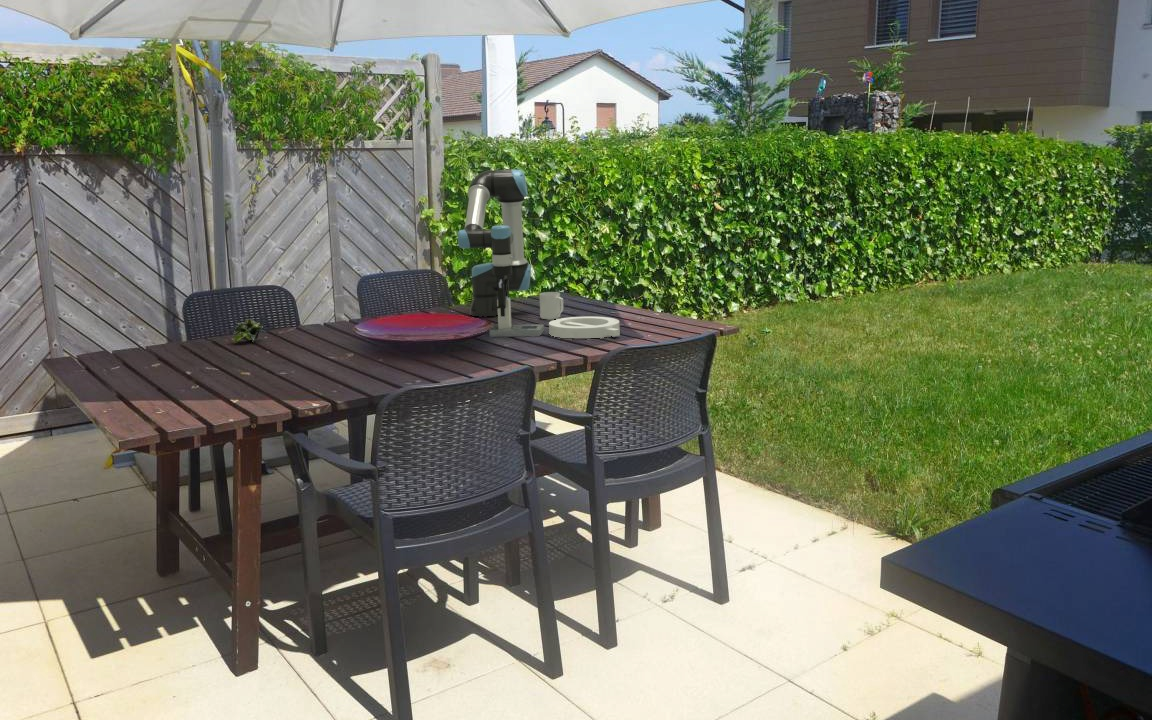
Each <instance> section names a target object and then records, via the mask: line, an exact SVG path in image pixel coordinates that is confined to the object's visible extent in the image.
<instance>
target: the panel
mask: <svg viewBox="0 0 1152 720" xmlns="http://www.w3.org/2000/svg"><path fill="white" fill-rule="evenodd" d="M543 331H544V332H545V324H536V323H535V324H511V329H498V324H495V325H493V327H492V328H491V329H490V330H489V337H490V338H491V337H492V338H493V337H494V338H496V337H499V338H500V337H502V338H503V337H506V338H511V337H514V338H515V337H541V336H540V335H542V334H543V333H544V332H543ZM542 332H543V333H542Z"/></svg>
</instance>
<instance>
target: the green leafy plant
mask: <svg viewBox="0 0 1152 720" xmlns="http://www.w3.org/2000/svg"><path fill="white" fill-rule="evenodd" d="M237 325H238V327H235V328H234V329H235V330H234V331H233V336H234V337H233V339H232V343H233V342H236V343H237V342H239V341H241V340H243V339H245V338H246V339H248V340H249V341H250V340H251V339H252V341H251V343H252V342H253V343H254V341H255V340H258V339H259V334H260V333H261V334H265V333H266V330H264V324H263V323H262V324H261V322H258V321H255V320H254V319H251V318H249V319H247V320H243V322H238V323H237ZM257 338H258V339H257Z"/></svg>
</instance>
